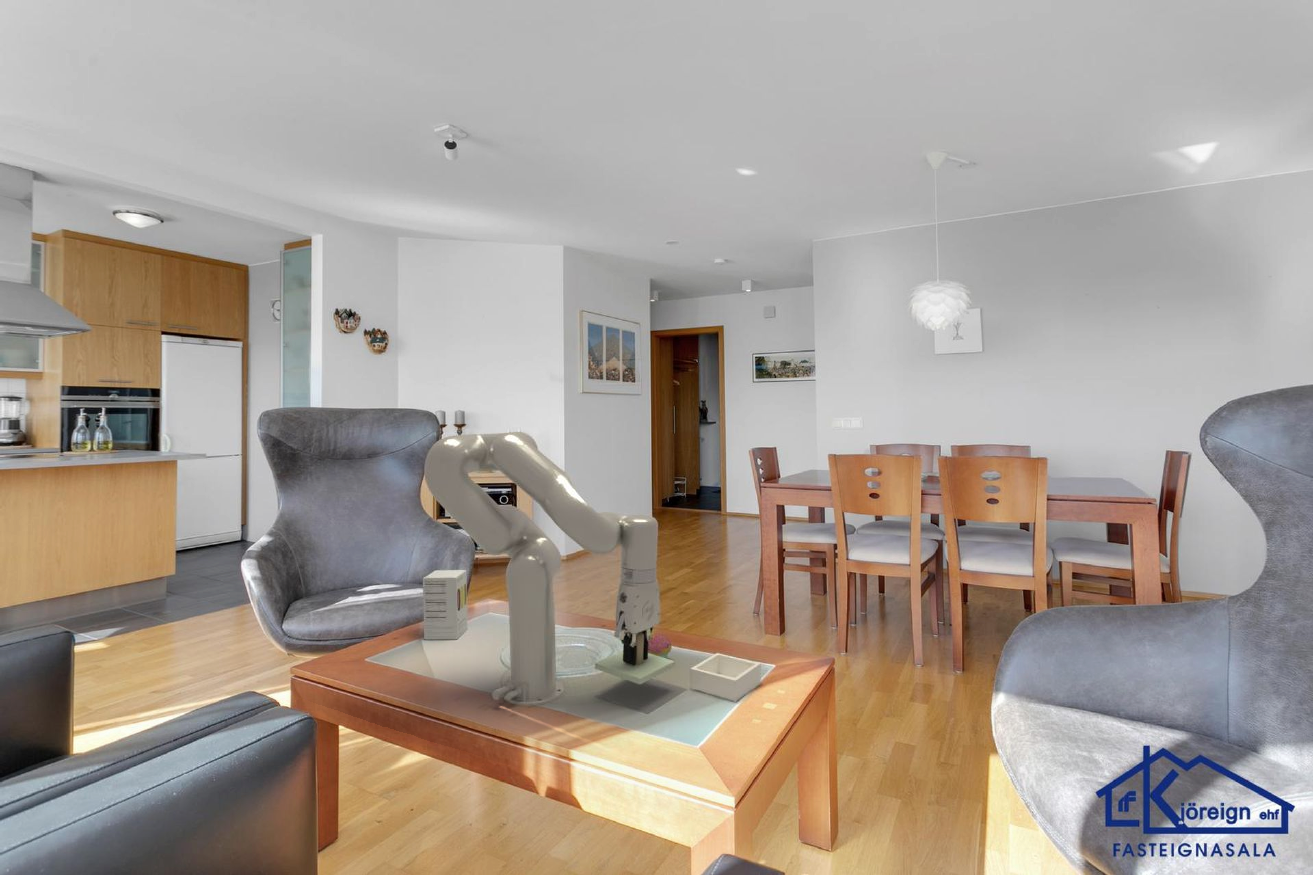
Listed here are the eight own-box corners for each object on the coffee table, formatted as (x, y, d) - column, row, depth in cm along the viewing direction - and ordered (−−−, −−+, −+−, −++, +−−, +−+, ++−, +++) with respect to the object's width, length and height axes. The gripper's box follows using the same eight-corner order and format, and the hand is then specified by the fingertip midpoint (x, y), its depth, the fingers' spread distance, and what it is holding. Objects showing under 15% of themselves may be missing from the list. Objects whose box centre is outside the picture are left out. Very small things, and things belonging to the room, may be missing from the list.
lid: (640, 684, 128) (641, 648, 128) (595, 668, 135) (596, 634, 135) (674, 666, 138) (675, 633, 137) (630, 652, 145) (632, 621, 144)
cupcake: (668, 672, 148) (667, 621, 148) (632, 670, 150) (631, 619, 150) (674, 659, 157) (673, 610, 156) (640, 656, 158) (639, 608, 158)
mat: (647, 716, 127) (647, 713, 127) (594, 698, 135) (594, 696, 135) (687, 691, 138) (687, 689, 138) (636, 676, 146) (636, 674, 146)
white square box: (735, 704, 132) (735, 680, 131) (690, 691, 138) (690, 668, 138) (760, 686, 140) (760, 663, 140) (717, 674, 147) (717, 652, 147)
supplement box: (457, 640, 172) (456, 577, 172) (423, 640, 172) (421, 578, 172) (468, 628, 182) (467, 569, 181) (435, 628, 182) (434, 569, 181)
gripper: (627, 585, 127) (624, 677, 128) (675, 571, 140) (672, 654, 141) (599, 578, 131) (596, 667, 132) (647, 565, 145) (645, 646, 145)
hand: (635, 659), depth 136 cm, fingers closed on lid, 3 cm apart
